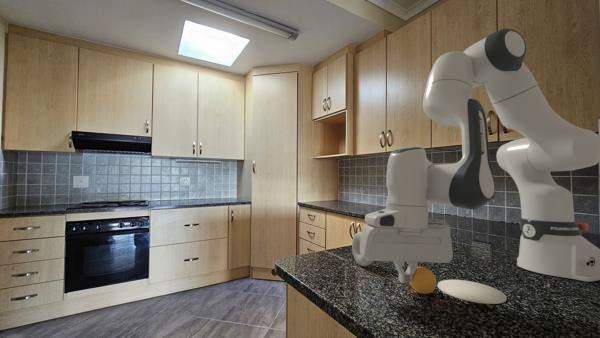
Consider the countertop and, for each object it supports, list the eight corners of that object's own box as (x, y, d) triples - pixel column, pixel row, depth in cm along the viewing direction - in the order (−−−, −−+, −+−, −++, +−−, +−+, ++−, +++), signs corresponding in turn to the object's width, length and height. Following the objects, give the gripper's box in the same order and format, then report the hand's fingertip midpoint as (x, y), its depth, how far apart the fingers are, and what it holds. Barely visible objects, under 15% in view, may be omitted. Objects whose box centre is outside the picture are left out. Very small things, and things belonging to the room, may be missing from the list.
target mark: (474, 279, 66) (474, 278, 66) (523, 302, 53) (523, 301, 53) (426, 281, 64) (426, 280, 64) (464, 305, 51) (464, 304, 51)
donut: (377, 270, 72) (376, 234, 73) (366, 271, 71) (365, 234, 72) (359, 260, 82) (359, 228, 83) (350, 261, 81) (349, 229, 82)
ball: (412, 292, 60) (430, 278, 61) (426, 303, 54) (446, 288, 55) (399, 272, 60) (418, 258, 61) (412, 281, 54) (433, 266, 55)
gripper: (440, 218, 62) (440, 277, 61) (358, 215, 60) (356, 276, 59) (459, 221, 56) (459, 287, 55) (367, 218, 54) (366, 286, 53)
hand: (405, 281), depth 57 cm, fingers closed
